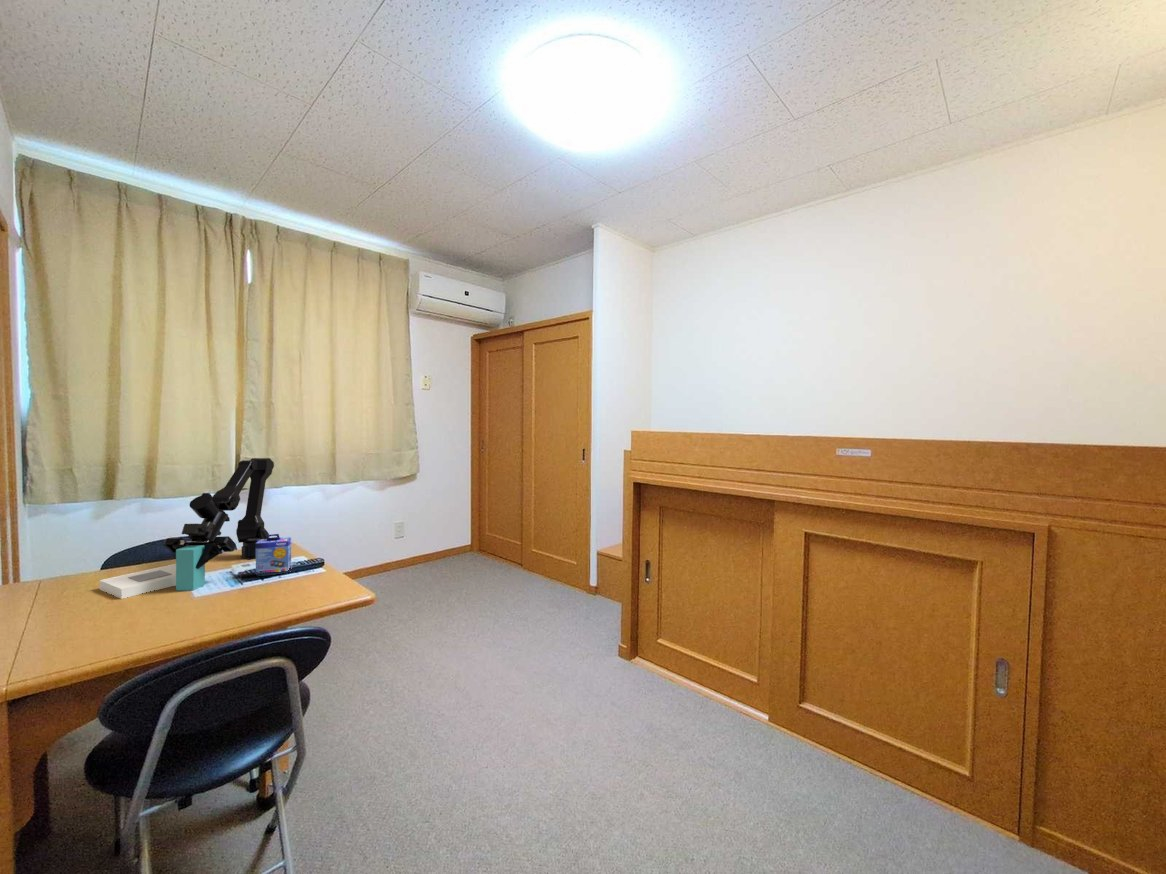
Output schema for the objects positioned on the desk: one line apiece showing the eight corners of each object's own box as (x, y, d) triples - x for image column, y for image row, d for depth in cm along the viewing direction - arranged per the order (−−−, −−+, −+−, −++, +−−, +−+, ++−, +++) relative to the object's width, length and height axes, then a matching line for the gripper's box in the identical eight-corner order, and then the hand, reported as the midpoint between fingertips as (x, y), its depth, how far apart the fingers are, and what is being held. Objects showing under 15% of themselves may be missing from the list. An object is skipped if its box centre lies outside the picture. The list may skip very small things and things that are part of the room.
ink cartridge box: (254, 578, 152) (254, 536, 151) (258, 573, 157) (258, 532, 156) (289, 574, 156) (288, 533, 156) (291, 569, 161) (291, 530, 161)
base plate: (179, 571, 158) (179, 562, 158) (202, 578, 151) (202, 569, 151) (99, 589, 140) (99, 579, 140) (121, 598, 133) (121, 588, 133)
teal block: (188, 584, 145) (188, 545, 144) (204, 584, 145) (205, 545, 145) (176, 590, 140) (176, 549, 139) (193, 590, 140) (193, 549, 140)
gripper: (167, 513, 144) (138, 556, 134) (229, 512, 147) (206, 555, 136) (185, 531, 153) (160, 573, 142) (245, 530, 155) (224, 572, 144)
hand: (187, 568), depth 141 cm, fingers closed on teal block, 5 cm apart
